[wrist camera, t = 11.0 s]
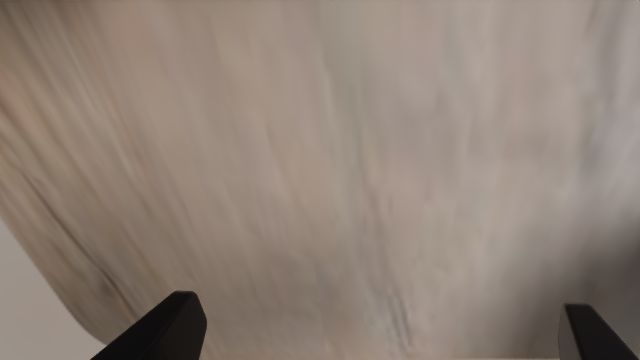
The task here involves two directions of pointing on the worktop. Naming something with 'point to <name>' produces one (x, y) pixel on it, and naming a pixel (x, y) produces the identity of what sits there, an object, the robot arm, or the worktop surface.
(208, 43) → the worktop surface
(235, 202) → the worktop surface
